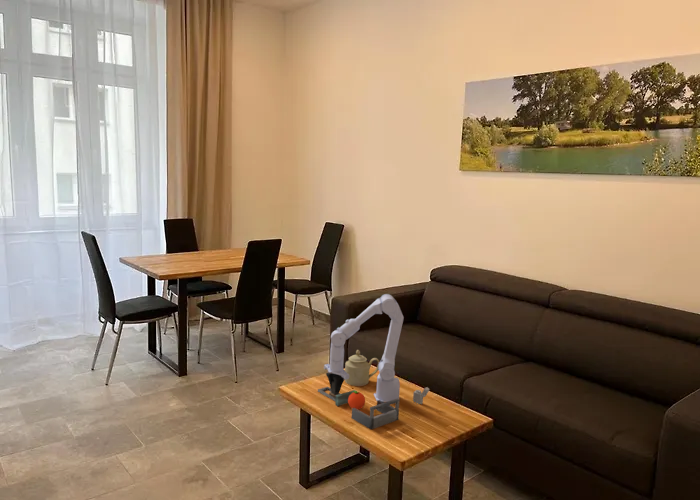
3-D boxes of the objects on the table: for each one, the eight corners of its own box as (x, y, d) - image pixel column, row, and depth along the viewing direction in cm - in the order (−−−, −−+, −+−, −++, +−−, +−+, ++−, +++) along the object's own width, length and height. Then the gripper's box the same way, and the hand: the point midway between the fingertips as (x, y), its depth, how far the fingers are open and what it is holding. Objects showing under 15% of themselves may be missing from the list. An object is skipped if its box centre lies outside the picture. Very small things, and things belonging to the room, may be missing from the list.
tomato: (342, 406, 220) (343, 389, 219) (357, 402, 224) (357, 386, 223) (353, 413, 213) (354, 396, 212) (368, 410, 217) (369, 393, 216)
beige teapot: (365, 373, 257) (367, 343, 255) (380, 381, 248) (382, 350, 246) (339, 379, 248) (341, 348, 246) (354, 388, 239) (356, 355, 237)
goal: (351, 418, 209) (352, 397, 208) (378, 409, 219) (380, 389, 218) (370, 429, 201) (372, 408, 200) (398, 419, 210) (400, 399, 209)
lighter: (412, 401, 228) (413, 383, 227) (415, 400, 229) (416, 382, 228) (425, 407, 223) (427, 388, 222) (428, 406, 224) (429, 387, 223)
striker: (322, 397, 227) (323, 382, 226) (341, 392, 233) (341, 377, 232) (337, 406, 219) (338, 390, 218) (356, 400, 226) (357, 385, 225)
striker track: (317, 391, 233) (317, 389, 233) (327, 388, 237) (327, 386, 237) (337, 402, 223) (337, 400, 223) (347, 399, 227) (347, 397, 227)
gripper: (318, 355, 229) (317, 386, 231) (340, 366, 218) (338, 398, 220) (331, 353, 234) (330, 383, 236) (353, 363, 223) (351, 394, 225)
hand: (335, 390), depth 228 cm, fingers closed on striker, 2 cm apart
